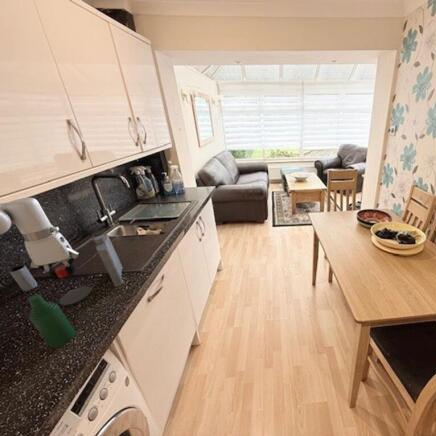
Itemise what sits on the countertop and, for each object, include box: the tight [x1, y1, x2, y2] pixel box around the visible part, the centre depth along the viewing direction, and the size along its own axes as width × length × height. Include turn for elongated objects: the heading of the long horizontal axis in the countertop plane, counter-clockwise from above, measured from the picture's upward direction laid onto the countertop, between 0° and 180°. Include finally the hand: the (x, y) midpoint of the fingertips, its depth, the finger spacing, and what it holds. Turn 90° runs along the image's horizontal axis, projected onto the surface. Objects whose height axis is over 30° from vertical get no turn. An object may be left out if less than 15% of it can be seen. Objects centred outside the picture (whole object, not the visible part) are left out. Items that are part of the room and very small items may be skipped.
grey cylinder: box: [8, 264, 39, 292], centre depth 98 cm, size 4×4×10 cm
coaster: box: [59, 286, 93, 307], centre depth 94 cm, size 10×10×1 cm
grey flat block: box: [92, 233, 125, 288], centre depth 100 cm, size 16×4×20 cm, turn 35°
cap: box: [54, 264, 70, 279], centre depth 89 cm, size 4×4×3 cm
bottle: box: [27, 293, 77, 349], centre depth 72 cm, size 6×6×18 cm
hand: (65, 275), depth 90 cm, fingers closed on cap, 3 cm apart
